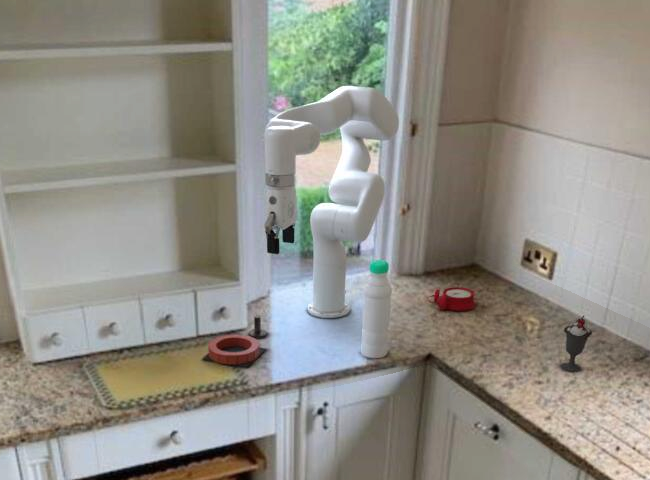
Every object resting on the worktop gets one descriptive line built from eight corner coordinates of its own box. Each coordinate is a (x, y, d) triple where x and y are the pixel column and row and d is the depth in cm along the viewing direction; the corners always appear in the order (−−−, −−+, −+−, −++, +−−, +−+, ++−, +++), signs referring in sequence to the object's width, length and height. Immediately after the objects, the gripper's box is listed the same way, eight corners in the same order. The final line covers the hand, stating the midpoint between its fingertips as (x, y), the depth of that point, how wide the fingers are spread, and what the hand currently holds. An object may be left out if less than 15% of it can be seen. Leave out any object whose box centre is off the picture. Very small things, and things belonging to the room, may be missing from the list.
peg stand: (253, 330, 227) (253, 312, 225) (269, 333, 226) (269, 314, 223) (245, 336, 224) (245, 318, 221) (262, 339, 222) (261, 321, 219)
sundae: (571, 375, 200) (582, 319, 192) (551, 365, 205) (561, 310, 198) (590, 370, 203) (602, 314, 195) (570, 360, 208) (581, 305, 200)
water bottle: (386, 360, 209) (392, 267, 196) (359, 358, 211) (363, 266, 198) (388, 349, 215) (394, 258, 202) (362, 347, 216) (366, 257, 203)
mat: (223, 342, 220) (223, 341, 220) (266, 350, 216) (266, 348, 215) (202, 359, 211) (202, 358, 211) (247, 368, 206) (247, 366, 206)
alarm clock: (484, 299, 236) (436, 290, 233) (477, 318, 239) (430, 310, 236) (474, 286, 245) (428, 278, 242) (467, 305, 248) (422, 297, 245)
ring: (223, 340, 220) (222, 331, 219) (267, 348, 216) (267, 339, 214) (200, 359, 210) (199, 350, 209) (246, 367, 205) (245, 358, 204)
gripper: (280, 189, 190) (280, 259, 199) (307, 173, 203) (306, 240, 212) (251, 186, 193) (253, 256, 201) (280, 171, 206) (281, 237, 215)
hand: (281, 247), depth 207 cm, fingers open, 9 cm apart
